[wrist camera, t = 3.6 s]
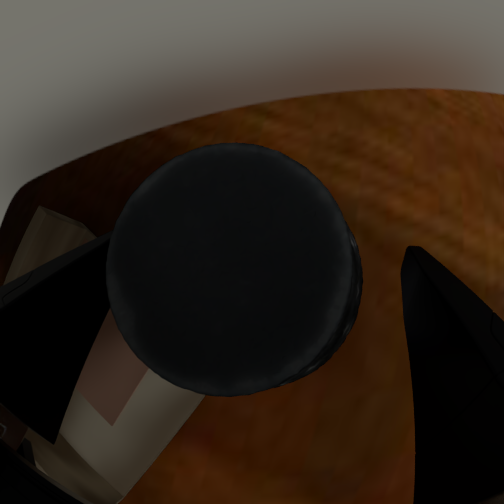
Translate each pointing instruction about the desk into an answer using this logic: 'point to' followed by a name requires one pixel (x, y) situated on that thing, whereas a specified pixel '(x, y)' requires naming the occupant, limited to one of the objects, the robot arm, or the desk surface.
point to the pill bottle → (233, 271)
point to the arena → (102, 392)
